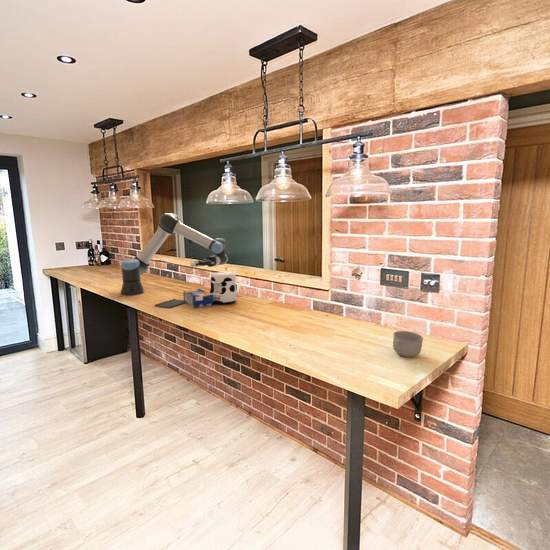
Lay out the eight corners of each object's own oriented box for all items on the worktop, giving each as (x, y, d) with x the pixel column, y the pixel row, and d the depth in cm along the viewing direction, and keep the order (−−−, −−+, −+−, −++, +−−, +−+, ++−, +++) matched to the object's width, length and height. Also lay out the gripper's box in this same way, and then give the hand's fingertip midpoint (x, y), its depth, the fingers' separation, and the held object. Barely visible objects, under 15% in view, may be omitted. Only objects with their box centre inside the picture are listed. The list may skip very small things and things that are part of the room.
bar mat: (154, 306, 219) (154, 304, 219) (174, 300, 235) (174, 298, 235) (170, 308, 214) (170, 306, 214) (189, 301, 230) (189, 300, 230)
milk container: (233, 298, 240) (233, 271, 237) (240, 304, 224) (239, 275, 221) (207, 300, 234) (206, 272, 231) (212, 306, 218) (211, 276, 215)
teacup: (406, 347, 149) (407, 329, 148) (428, 356, 140) (429, 336, 138) (380, 354, 143) (381, 334, 141) (402, 363, 133) (403, 342, 132)
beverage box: (183, 290, 232) (195, 296, 213) (199, 288, 238) (212, 294, 219) (183, 301, 233) (195, 308, 215) (200, 298, 239) (212, 305, 220)
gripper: (220, 266, 258) (199, 271, 237) (205, 265, 263) (183, 270, 242) (220, 256, 257) (199, 259, 236) (204, 255, 262) (183, 258, 241)
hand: (191, 265), depth 239 cm, fingers closed
